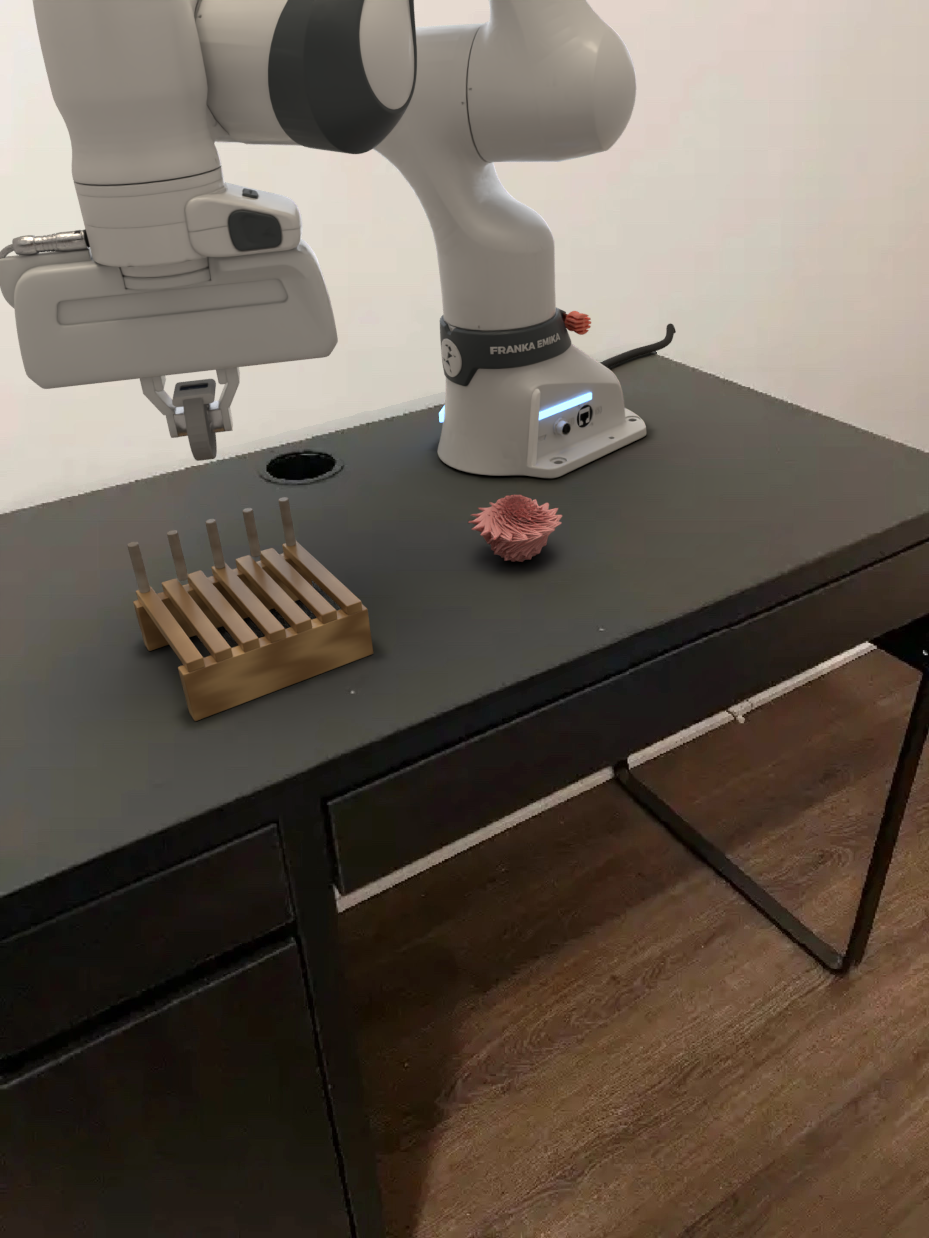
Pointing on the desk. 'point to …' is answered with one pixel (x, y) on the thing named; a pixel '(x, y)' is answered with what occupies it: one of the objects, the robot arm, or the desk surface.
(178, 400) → the wristwatch
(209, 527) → the rack
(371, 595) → the desk surface
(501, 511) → the flower
